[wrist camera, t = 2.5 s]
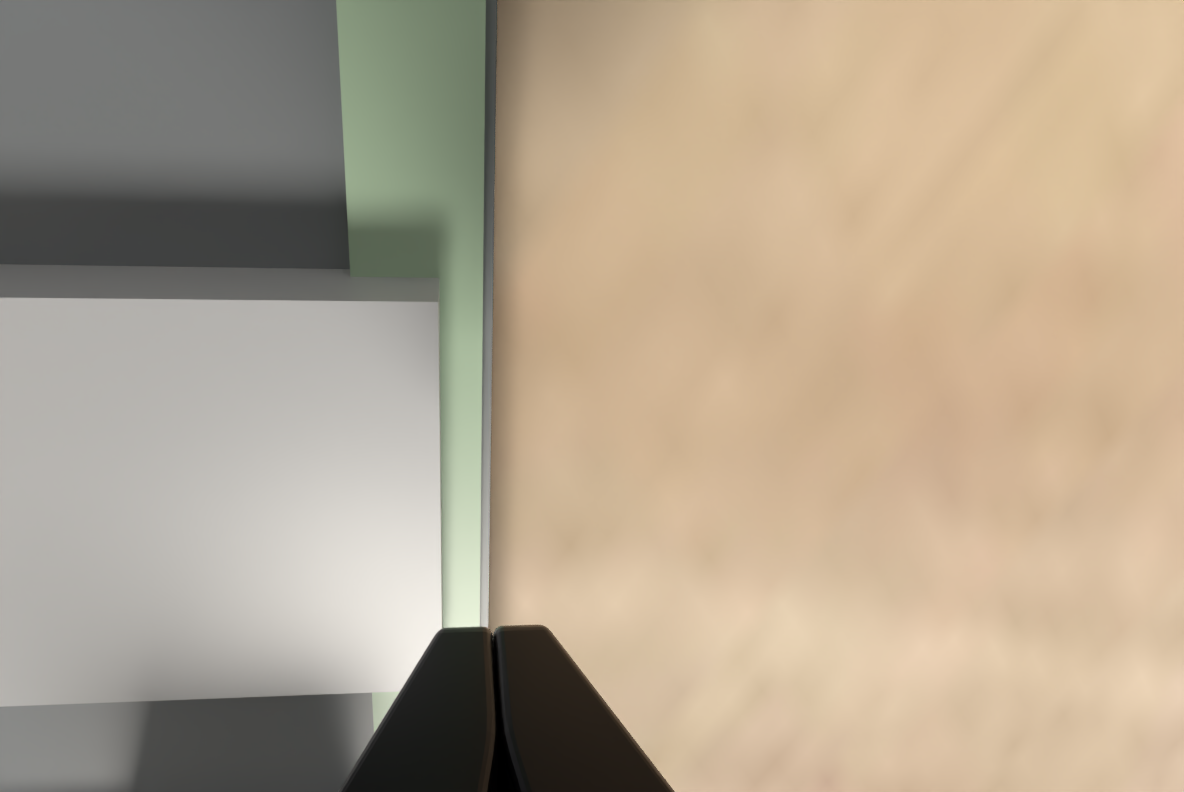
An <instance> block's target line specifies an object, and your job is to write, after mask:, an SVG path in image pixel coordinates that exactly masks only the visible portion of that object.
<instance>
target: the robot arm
mask: <svg viewBox="0 0 1184 792" xmlns="http://www.w3.org/2000/svg"><path fill="white" fill-rule="evenodd" d="M338 792H674V790H673V789H672V788H671V786H670V785H669V784H668V782H667V781H666V780H665V779H664V777H663V776H662V775H661V773H660V772H659V771H658V770H657V768H656V767H655V766H654V764H653V763H652V762H651V760H650V759H649V758H648V757H647V755H646V754H645V753H644V751H643V750H642V749H641V748H640V746H639V745H638V744H637V742H636V741H635V740H634V738H633V737H632V736H631V735H630V733H629V732H628V731H627V729H626V728H625V727H624V726H623V724H622V723H621V722H620V720H619V719H618V718H617V716H616V715H615V714H614V713H613V711H612V710H611V709H610V707H609V706H608V705H607V704H606V702H605V701H604V700H603V698H602V697H601V696H600V694H599V693H598V692H597V691H596V689H595V688H594V687H593V685H592V684H591V683H590V682H589V680H588V679H587V678H586V676H585V675H584V674H583V672H582V671H581V670H580V669H579V667H578V666H577V665H576V663H575V662H574V661H573V660H572V658H571V657H570V656H569V654H568V653H567V652H566V650H565V649H564V648H563V647H562V645H561V644H560V643H559V641H558V640H557V639H556V638H555V636H554V635H553V634H552V632H551V631H550V630H549V629H548V628H547V627H545V626H543V625H515V626H500V627H498V628H497V629H496V630H495V632H494V634H493V636H492V632H491V631H490V629H488V628H487V627H483V626H482V627H448V628H443V629H441V630H439V631H438V632H437V633H436V634H435V636H434V637H433V639H432V640H431V642H430V644H429V645H428V647H427V648H426V650H425V652H424V653H423V655H422V656H421V658H420V660H419V661H418V663H417V665H416V666H415V668H414V669H413V671H412V673H411V674H410V676H409V677H408V679H407V681H406V682H405V684H404V686H403V687H402V689H401V690H400V692H399V694H398V695H397V697H396V698H395V700H394V702H393V703H392V705H391V707H390V708H389V710H388V711H387V713H386V715H385V716H384V718H383V719H382V721H381V723H380V724H379V726H378V728H377V729H376V731H375V732H374V734H373V736H372V737H371V739H370V740H369V742H368V744H367V745H366V747H365V749H364V750H363V752H362V753H361V755H360V757H359V758H358V760H357V762H356V763H355V765H354V766H353V768H352V770H351V771H350V773H349V774H348V776H347V778H346V779H345V781H344V783H343V784H342V786H341V787H340V789H339V791H338Z"/></svg>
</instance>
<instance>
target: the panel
mask: <svg viewBox="0 0 1184 792" xmlns="http://www.w3.org/2000/svg"><path fill="white" fill-rule="evenodd" d="M496 46H497V0H0V792H338V791H339V789H340V787H341V786H342V784H343V783H344V781H345V779H346V778H347V776H348V774H349V773H350V771H351V770H352V768H353V766H354V765H355V763H356V762H357V760H358V758H359V757H360V755H361V753H362V752H363V750H364V749H365V747H366V745H367V744H368V742H369V740H370V739H371V737H372V736H373V734H374V732H375V731H376V729H377V728H378V726H379V724H380V723H381V721H382V719H383V718H384V716H385V715H386V713H387V711H388V710H389V708H390V707H391V705H392V703H393V702H394V700H395V698H396V697H397V695H398V694H399V692H400V690H401V689H402V687H403V686H404V684H405V682H406V681H407V679H408V677H409V676H410V674H411V673H412V671H413V669H414V668H415V666H416V665H417V663H418V661H419V660H420V658H421V656H422V655H423V653H424V652H425V650H426V648H427V647H428V645H429V644H430V642H431V640H432V639H433V637H434V636H435V634H436V633H437V632H438V631H439V630H441V629H443V628H448V627H482V626H483V627H487V628H488V606H489V536H490V466H491V396H492V326H493V256H494V186H495V116H496Z"/></svg>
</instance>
